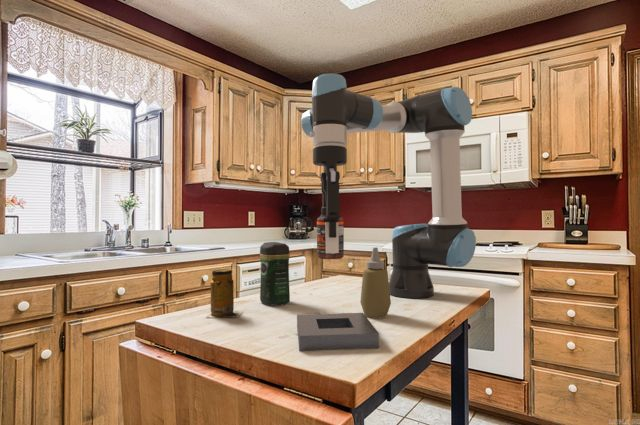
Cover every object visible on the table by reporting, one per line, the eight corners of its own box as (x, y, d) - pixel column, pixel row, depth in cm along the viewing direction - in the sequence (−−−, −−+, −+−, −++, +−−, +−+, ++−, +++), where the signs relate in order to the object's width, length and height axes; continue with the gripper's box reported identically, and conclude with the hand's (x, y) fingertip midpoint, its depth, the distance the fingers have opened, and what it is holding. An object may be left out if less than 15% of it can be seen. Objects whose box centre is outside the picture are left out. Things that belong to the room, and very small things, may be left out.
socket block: (363, 325, 93) (362, 312, 93) (378, 348, 77) (378, 333, 77) (297, 327, 92) (296, 314, 92) (299, 351, 76) (299, 335, 76)
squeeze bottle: (388, 321, 97) (387, 249, 97) (356, 318, 99) (356, 248, 99) (393, 313, 104) (393, 246, 104) (364, 310, 107) (363, 246, 107)
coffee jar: (293, 304, 115) (293, 242, 115) (269, 307, 111) (269, 243, 111) (279, 298, 124) (279, 240, 124) (256, 301, 119) (256, 241, 119)
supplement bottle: (311, 257, 86) (311, 207, 86) (332, 256, 89) (332, 207, 89) (327, 260, 81) (327, 206, 81) (349, 258, 85) (348, 206, 85)
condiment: (213, 311, 108) (213, 268, 108) (243, 311, 108) (243, 268, 108) (205, 318, 101) (205, 272, 101) (238, 318, 101) (237, 272, 101)
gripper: (310, 153, 94) (311, 247, 94) (315, 138, 76) (316, 256, 76) (340, 153, 95) (341, 247, 95) (353, 138, 76) (354, 255, 76)
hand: (330, 251), depth 85 cm, fingers closed on supplement bottle, 6 cm apart
